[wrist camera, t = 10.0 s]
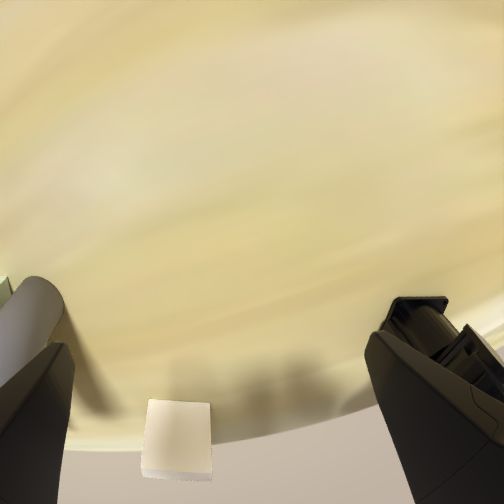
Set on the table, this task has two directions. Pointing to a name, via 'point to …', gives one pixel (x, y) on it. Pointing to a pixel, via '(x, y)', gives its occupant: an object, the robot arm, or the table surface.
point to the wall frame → (177, 441)
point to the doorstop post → (27, 323)
